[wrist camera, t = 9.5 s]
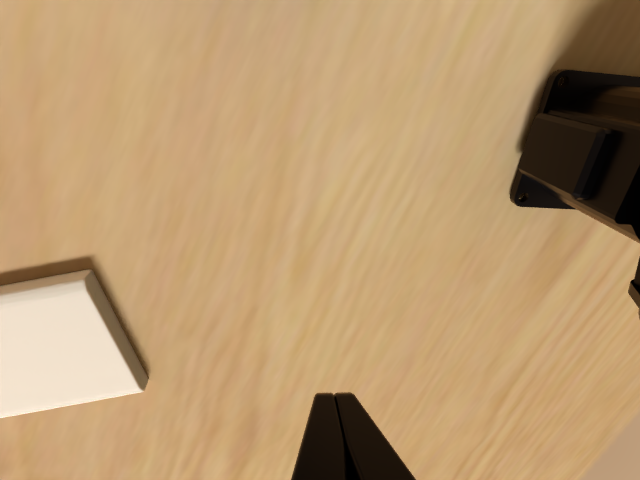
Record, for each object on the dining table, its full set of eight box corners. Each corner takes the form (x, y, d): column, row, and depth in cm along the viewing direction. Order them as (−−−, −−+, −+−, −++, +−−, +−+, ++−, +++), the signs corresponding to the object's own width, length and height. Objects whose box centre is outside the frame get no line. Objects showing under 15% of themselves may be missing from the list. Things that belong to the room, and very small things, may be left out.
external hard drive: (151, 373, 24) (-46, 411, 24) (95, 263, 20) (-141, 307, 20) (143, 395, 22) (-68, 435, 22) (81, 280, 19) (-174, 327, 18)
